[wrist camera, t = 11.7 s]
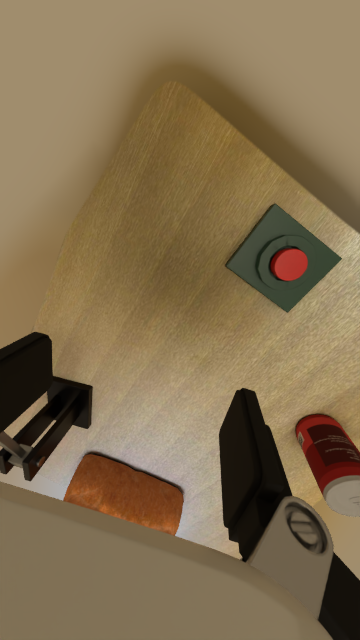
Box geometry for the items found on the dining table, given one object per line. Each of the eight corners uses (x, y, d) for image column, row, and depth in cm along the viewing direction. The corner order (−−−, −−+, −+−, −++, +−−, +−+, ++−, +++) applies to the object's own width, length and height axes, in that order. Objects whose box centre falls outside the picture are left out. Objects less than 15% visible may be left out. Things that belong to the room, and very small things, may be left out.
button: (264, 267, 25) (267, 269, 24) (285, 242, 24) (291, 242, 22) (285, 284, 26) (290, 286, 24) (308, 260, 24) (315, 261, 23)
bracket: (50, 375, 41) (-21, 435, 28) (92, 386, 41) (39, 452, 28) (52, 414, 45) (-9, 482, 33) (90, 424, 45) (44, 497, 32)
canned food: (312, 450, 39) (348, 523, 29) (284, 427, 38) (312, 494, 28) (349, 431, 36) (404, 505, 26) (321, 405, 35) (367, 472, 25)
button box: (225, 264, 29) (227, 268, 26) (271, 205, 26) (280, 200, 22) (283, 309, 30) (292, 317, 27) (334, 257, 27) (351, 259, 23)
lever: (-44, 392, 22) (-69, 414, 20) (-2, 404, 22) (-23, 427, 20) (18, 447, 34) (6, 463, 32) (46, 454, 34) (36, 472, 32)
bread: (168, 515, 54) (153, 614, 39) (76, 477, 53) (27, 564, 39) (189, 487, 48) (181, 591, 34) (87, 445, 48) (35, 532, 33)
